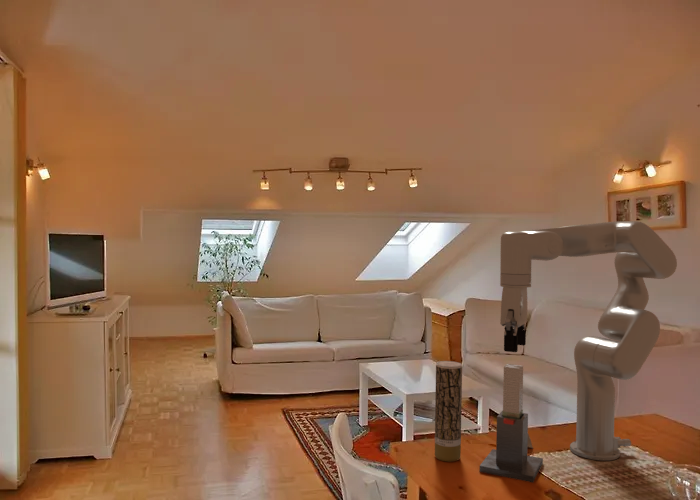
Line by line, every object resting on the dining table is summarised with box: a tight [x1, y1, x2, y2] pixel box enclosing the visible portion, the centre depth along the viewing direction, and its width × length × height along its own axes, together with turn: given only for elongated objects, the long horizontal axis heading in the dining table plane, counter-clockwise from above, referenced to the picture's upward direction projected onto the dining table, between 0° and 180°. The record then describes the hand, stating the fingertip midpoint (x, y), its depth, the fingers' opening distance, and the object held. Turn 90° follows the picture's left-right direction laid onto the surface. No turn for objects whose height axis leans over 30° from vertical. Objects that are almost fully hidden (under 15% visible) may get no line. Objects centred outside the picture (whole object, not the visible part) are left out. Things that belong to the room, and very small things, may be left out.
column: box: [501, 363, 524, 419], centre depth 148 cm, size 4×4×18 cm
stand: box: [479, 409, 544, 483], centre depth 148 cm, size 13×13×14 cm
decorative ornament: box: [527, 433, 534, 449], centre depth 166 cm, size 4×8×5 cm, turn 5°
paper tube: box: [434, 360, 463, 463], centre depth 154 cm, size 7×7×25 cm
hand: (515, 348), depth 147 cm, fingers open, 9 cm apart
